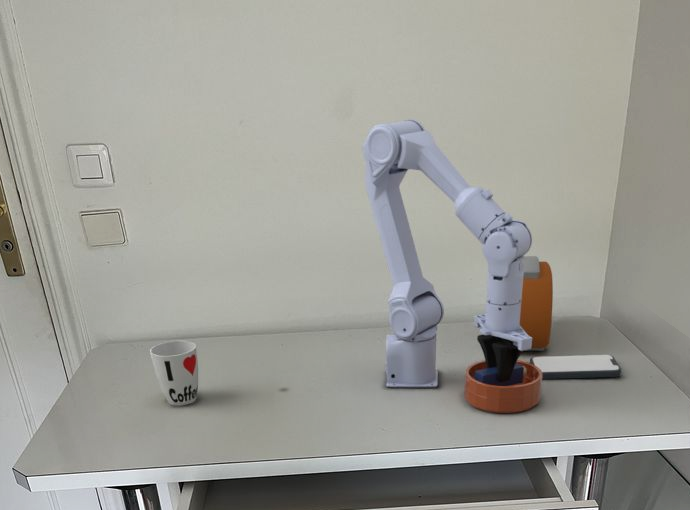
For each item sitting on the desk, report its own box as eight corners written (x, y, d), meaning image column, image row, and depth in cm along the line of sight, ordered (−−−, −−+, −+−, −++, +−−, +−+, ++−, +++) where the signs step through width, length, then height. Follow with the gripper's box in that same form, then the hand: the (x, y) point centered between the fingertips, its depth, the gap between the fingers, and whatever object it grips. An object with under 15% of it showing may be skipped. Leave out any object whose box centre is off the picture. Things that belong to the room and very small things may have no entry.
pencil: (482, 391, 126) (483, 375, 125) (474, 386, 128) (474, 370, 127) (530, 381, 129) (531, 365, 128) (521, 376, 131) (523, 360, 130)
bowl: (465, 414, 125) (466, 387, 122) (463, 384, 136) (464, 358, 134) (543, 414, 124) (546, 387, 121) (535, 384, 135) (538, 358, 132)
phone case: (534, 381, 137) (622, 378, 135) (535, 373, 136) (623, 370, 135) (528, 364, 144) (611, 361, 143) (529, 356, 143) (612, 353, 142)
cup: (166, 412, 130) (156, 359, 125) (155, 397, 136) (144, 346, 131) (210, 402, 133) (201, 350, 128) (197, 388, 140) (188, 337, 134)
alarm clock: (500, 320, 167) (504, 244, 158) (540, 320, 166) (547, 244, 157) (503, 356, 147) (508, 273, 139) (548, 357, 146) (557, 272, 137)
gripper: (460, 293, 125) (457, 368, 132) (508, 315, 114) (502, 396, 121) (495, 287, 127) (491, 361, 134) (545, 308, 116) (538, 388, 123)
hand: (498, 377), depth 128 cm, fingers closed on pencil, 2 cm apart
